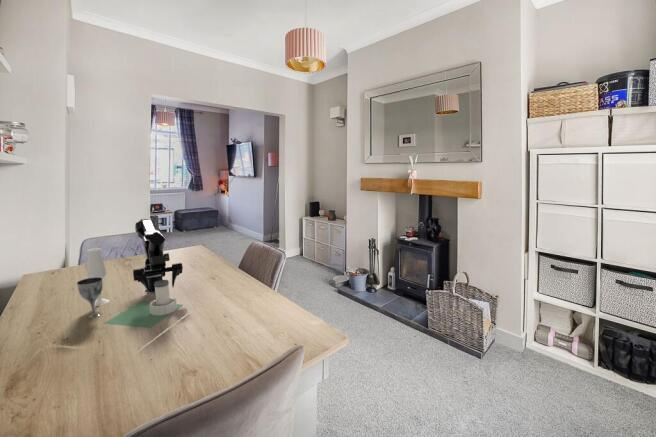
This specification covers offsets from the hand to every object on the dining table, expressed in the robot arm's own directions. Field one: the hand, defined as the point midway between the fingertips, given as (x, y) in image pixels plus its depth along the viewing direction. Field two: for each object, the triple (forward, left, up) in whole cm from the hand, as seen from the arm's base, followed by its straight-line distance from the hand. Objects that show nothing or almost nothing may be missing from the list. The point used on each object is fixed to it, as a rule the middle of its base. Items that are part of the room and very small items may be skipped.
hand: (161, 289), depth 135 cm
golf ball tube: (+3, -3, -7) cm, 9 cm away
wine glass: (-21, -12, -8) cm, 26 cm away
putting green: (-2, -7, -8) cm, 11 cm away
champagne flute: (-30, 0, -8) cm, 31 cm away
